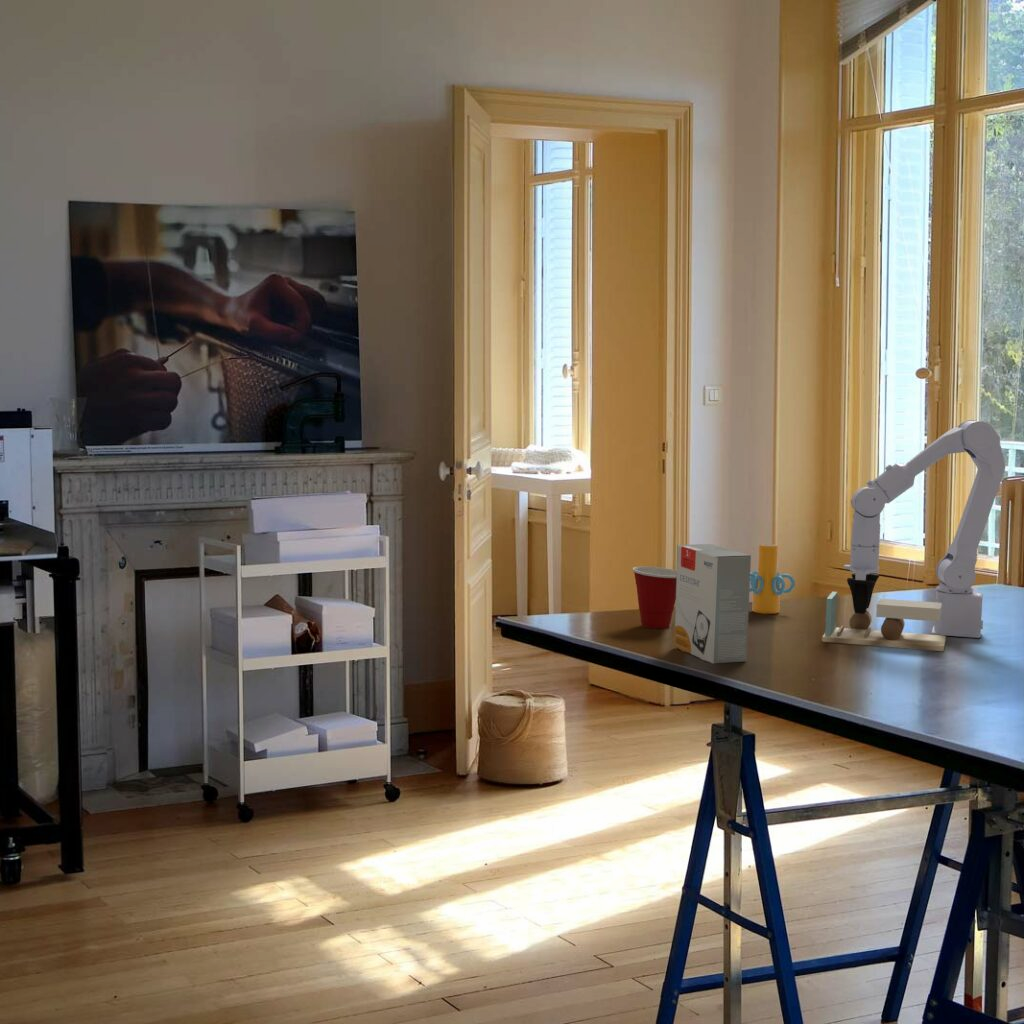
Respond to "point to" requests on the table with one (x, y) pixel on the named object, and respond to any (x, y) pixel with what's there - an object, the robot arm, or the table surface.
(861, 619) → the roller
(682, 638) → the hard drive box
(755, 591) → the cylinder
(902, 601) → the slab
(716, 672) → the table surface
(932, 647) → the roller bed
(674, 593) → the plastic cup
